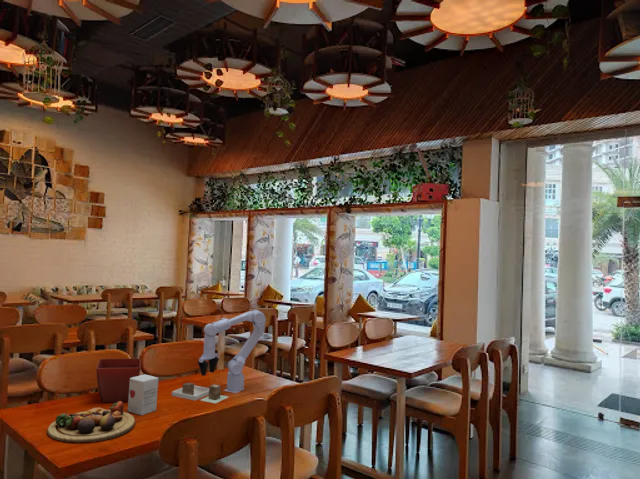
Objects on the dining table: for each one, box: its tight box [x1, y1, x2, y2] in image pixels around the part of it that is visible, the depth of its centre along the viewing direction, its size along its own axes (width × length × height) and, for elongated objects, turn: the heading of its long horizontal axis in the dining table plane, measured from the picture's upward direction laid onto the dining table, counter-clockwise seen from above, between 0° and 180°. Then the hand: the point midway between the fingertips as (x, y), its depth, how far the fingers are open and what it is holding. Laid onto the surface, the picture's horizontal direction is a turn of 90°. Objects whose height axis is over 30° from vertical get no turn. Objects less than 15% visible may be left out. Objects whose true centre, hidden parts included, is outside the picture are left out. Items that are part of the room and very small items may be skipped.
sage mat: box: [200, 394, 229, 404], centre depth 240 cm, size 12×9×1 cm
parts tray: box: [171, 384, 209, 401], centre depth 245 cm, size 15×14×2 cm
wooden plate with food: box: [46, 401, 136, 444], centre depth 196 cm, size 32×32×8 cm
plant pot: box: [95, 358, 142, 403], centre depth 234 cm, size 19×19×17 cm
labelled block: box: [208, 384, 222, 400], centre depth 240 cm, size 4×4×6 cm
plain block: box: [181, 382, 195, 395], centre depth 241 cm, size 4×4×6 cm
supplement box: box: [127, 374, 159, 416], centre depth 218 cm, size 9×9×15 cm
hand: (207, 373), depth 252 cm, fingers open, 7 cm apart
